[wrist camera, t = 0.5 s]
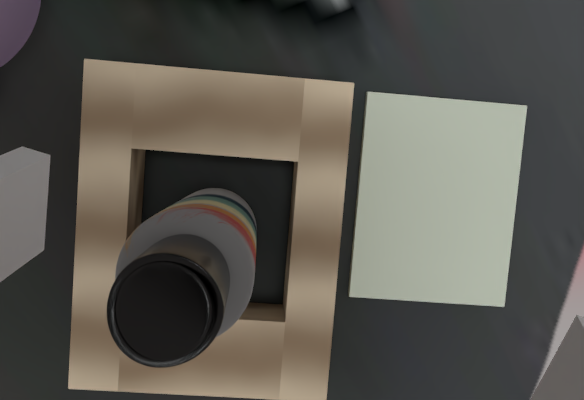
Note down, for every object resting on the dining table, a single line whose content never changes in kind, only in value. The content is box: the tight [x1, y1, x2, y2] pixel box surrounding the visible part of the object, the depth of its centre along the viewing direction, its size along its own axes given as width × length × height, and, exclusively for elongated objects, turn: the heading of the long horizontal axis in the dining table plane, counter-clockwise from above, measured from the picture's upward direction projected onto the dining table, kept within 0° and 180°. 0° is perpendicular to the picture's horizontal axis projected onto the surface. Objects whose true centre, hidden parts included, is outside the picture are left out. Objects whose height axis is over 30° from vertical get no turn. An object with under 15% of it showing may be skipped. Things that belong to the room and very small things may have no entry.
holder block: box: [68, 59, 354, 400], centre depth 35 cm, size 20×16×4 cm
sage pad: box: [348, 92, 527, 307], centre depth 37 cm, size 14×11×1 cm
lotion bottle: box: [107, 188, 257, 368], centre depth 27 cm, size 6×6×20 cm
